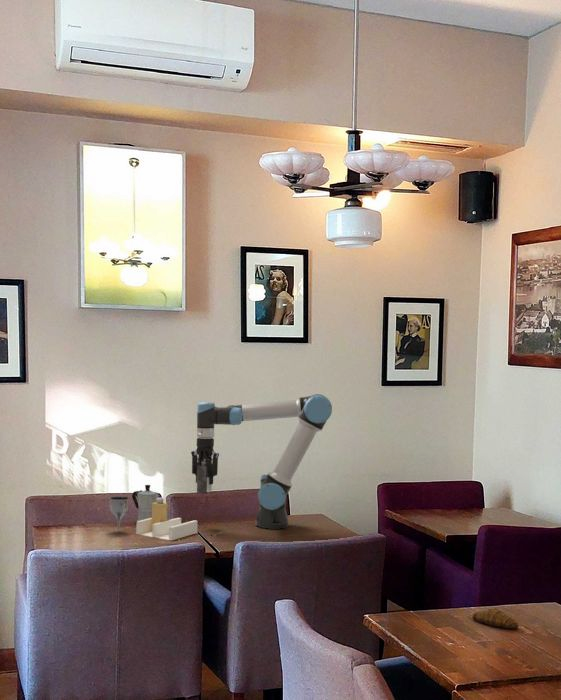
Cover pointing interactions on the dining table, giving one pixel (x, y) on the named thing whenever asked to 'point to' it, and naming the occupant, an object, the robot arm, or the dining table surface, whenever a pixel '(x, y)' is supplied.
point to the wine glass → (119, 507)
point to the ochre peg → (159, 511)
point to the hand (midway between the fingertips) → (204, 491)
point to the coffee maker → (144, 502)
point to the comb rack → (166, 528)
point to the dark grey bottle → (202, 478)
